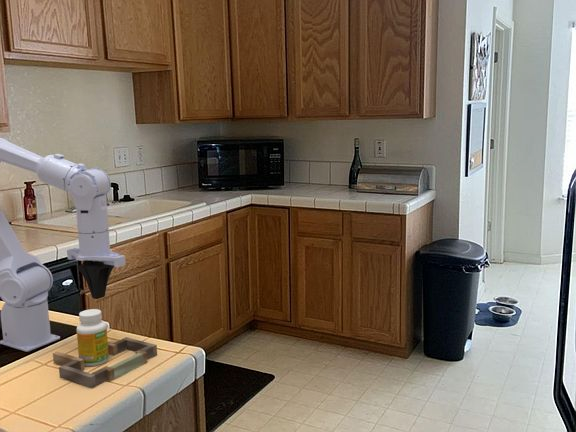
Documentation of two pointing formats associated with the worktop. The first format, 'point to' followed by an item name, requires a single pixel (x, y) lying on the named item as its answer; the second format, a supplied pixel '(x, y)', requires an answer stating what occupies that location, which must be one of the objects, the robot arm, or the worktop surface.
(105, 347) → the supplement bottle
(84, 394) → the worktop surface
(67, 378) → the grey flat frame
